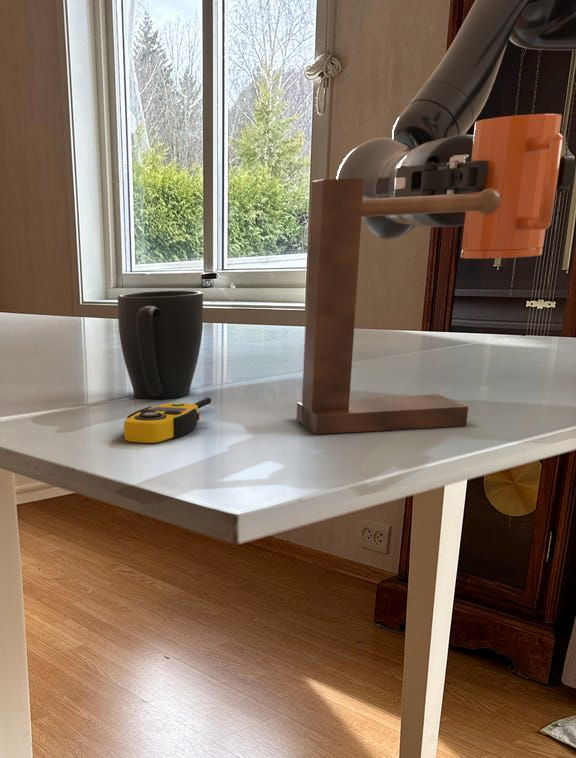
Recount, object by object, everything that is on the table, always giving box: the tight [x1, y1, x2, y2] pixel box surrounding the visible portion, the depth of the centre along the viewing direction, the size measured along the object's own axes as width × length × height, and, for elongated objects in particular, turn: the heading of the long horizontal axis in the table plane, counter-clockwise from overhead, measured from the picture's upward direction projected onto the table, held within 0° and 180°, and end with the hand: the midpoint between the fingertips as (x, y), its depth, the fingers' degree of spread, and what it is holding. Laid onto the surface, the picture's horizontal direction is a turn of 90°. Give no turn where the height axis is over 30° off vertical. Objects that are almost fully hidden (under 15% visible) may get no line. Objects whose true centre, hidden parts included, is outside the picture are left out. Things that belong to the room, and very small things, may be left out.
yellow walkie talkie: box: [123, 397, 212, 444], centre depth 77 cm, size 5×2×15 cm
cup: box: [460, 113, 564, 260], centre depth 72 cm, size 10×6×10 cm, turn 3°
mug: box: [117, 290, 204, 400], centre depth 88 cm, size 8×12×10 cm
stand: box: [296, 177, 501, 435], centre depth 71 cm, size 14×6×18 cm, turn 93°
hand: (525, 173), depth 71 cm, fingers closed on cup, 6 cm apart
